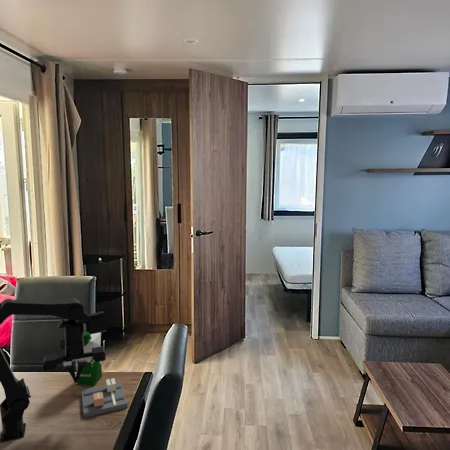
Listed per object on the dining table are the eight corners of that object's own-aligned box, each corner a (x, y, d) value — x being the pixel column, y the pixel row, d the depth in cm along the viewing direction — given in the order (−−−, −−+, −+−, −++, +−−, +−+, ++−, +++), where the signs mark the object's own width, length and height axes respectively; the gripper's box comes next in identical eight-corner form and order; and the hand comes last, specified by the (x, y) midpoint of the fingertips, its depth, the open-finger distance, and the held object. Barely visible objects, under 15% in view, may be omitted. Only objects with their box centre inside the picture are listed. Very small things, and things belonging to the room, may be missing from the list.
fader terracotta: (103, 405, 131) (103, 397, 130) (94, 407, 130) (94, 399, 129) (102, 398, 134) (102, 391, 134) (93, 400, 133) (93, 393, 133)
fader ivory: (116, 390, 140) (115, 383, 139) (107, 392, 138) (107, 385, 138) (114, 384, 143) (114, 377, 143) (106, 386, 142) (105, 379, 142)
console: (127, 407, 133) (127, 402, 132) (84, 417, 127) (83, 412, 127) (121, 385, 146) (120, 381, 146) (81, 393, 141) (81, 389, 141)
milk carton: (73, 386, 146) (70, 335, 143) (84, 373, 155) (81, 326, 152) (95, 387, 145) (93, 336, 142) (105, 374, 154) (103, 326, 151)
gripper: (101, 324, 138) (102, 366, 140) (43, 332, 130) (45, 376, 132) (105, 336, 128) (106, 381, 130) (42, 346, 120) (44, 393, 122)
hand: (76, 382), depth 129 cm, fingers closed
